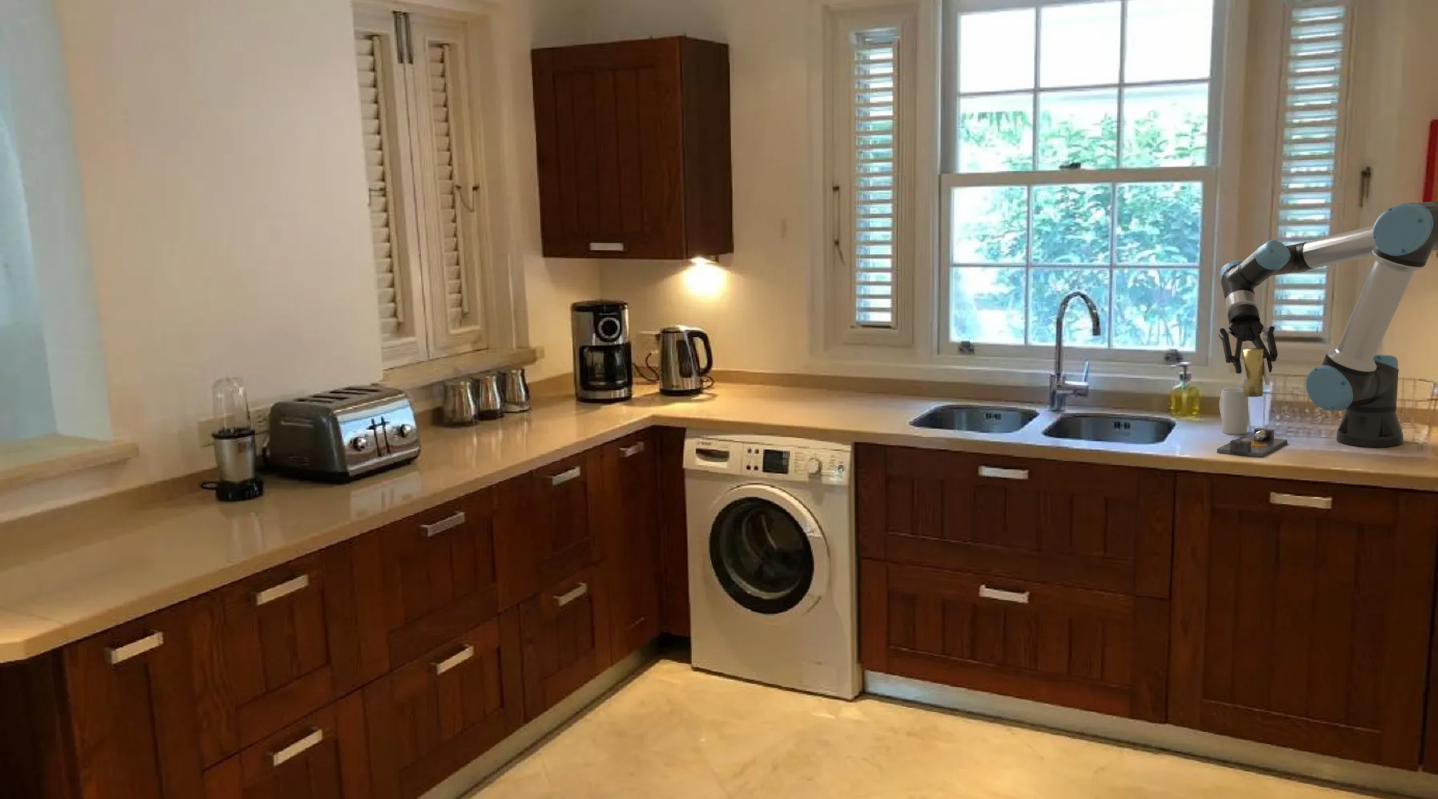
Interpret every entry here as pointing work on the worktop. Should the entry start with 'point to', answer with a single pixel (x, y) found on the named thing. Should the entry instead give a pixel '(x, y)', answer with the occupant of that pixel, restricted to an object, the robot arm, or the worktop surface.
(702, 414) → the worktop surface
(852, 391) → the worktop surface
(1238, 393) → the mug
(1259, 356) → the sleeve
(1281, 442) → the shaft bench
